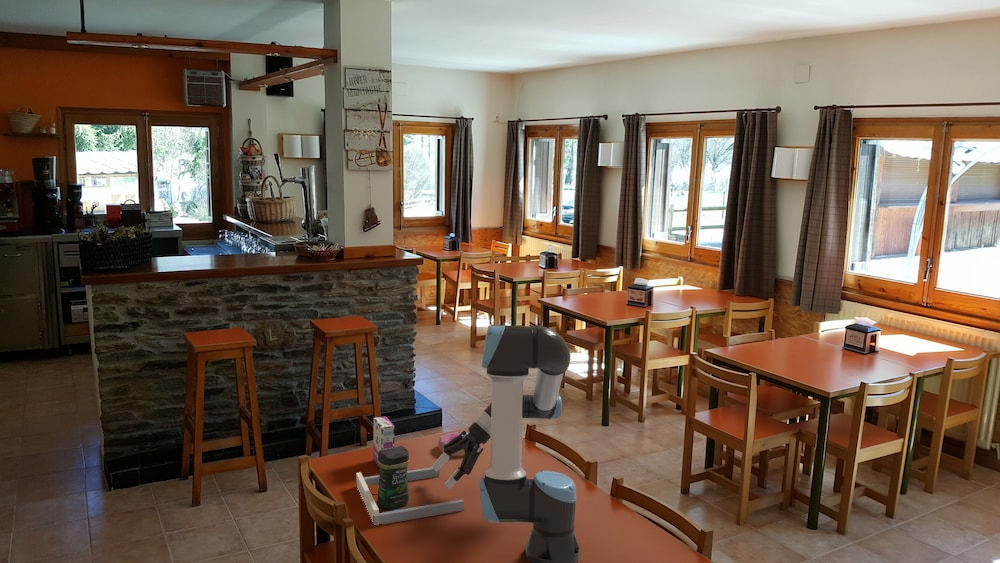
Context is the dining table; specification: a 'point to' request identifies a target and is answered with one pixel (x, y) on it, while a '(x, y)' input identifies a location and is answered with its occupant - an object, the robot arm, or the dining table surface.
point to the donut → (448, 438)
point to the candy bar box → (382, 436)
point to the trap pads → (396, 509)
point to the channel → (409, 512)
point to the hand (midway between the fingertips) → (440, 477)
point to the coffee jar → (393, 477)
